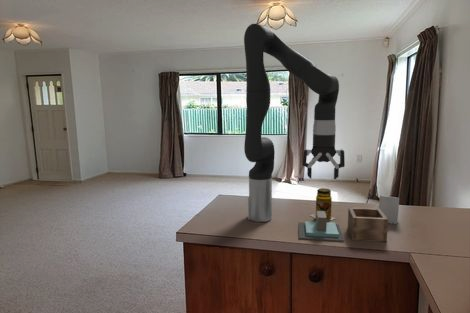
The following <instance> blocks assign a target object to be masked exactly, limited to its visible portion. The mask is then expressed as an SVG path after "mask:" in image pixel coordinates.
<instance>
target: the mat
mask: <svg viewBox="0 0 470 313" xmlns="http://www.w3.org/2000/svg"><path fill="white" fill-rule="evenodd" d="M335 224H336V227H337V230H338V233H339V237H322V236H306V227H305V221H303V222H301V221H299V222H298V240H304V239H309V241H321V240H324V241H325V242H326V241H327V242H337V241H343V242H342V243H344V242H345V239H344V237H343V236H344V235H343V233H342V230H341V227H340V224H339V223H335Z"/></svg>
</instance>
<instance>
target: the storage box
mask: <svg viewBox="0 0 470 313" xmlns="http://www.w3.org/2000/svg"><path fill="white" fill-rule="evenodd" d="M347 210H348V212H347V229H348V232H349V234H350V235H349V236H350V238H351V241H360V240H370V241H369V242H377V241H386V242H385V243H387V242H388V240H387V239H388V227H389V223H388V219H387V217H386V216H385V215H384V213H383V212H382V211H381V209H379V208H369V207H368V208H367V207H348V208H347Z"/></svg>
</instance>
